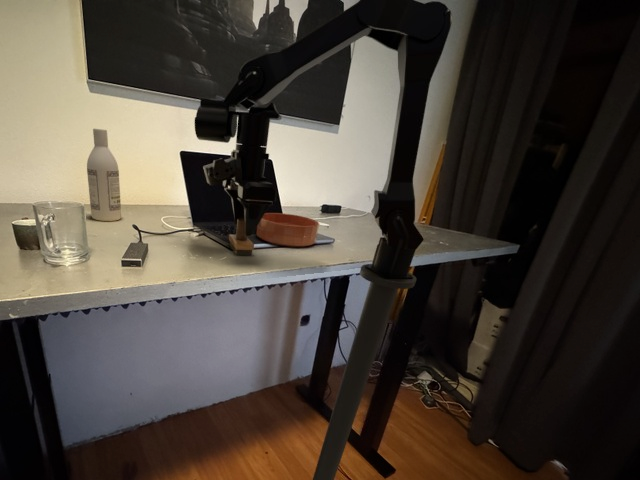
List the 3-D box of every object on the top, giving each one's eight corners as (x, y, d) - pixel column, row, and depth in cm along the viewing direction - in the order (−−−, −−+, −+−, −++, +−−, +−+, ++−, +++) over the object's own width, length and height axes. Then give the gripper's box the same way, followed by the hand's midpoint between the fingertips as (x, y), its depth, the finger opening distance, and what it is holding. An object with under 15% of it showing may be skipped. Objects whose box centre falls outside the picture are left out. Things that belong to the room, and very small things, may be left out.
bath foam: (122, 216, 86) (117, 131, 77) (120, 222, 80) (114, 130, 71) (93, 214, 84) (85, 127, 75) (89, 220, 78) (80, 127, 69)
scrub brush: (252, 256, 66) (256, 224, 63) (235, 255, 65) (238, 223, 62) (244, 245, 72) (247, 216, 69) (228, 245, 71) (230, 215, 68)
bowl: (325, 249, 76) (330, 227, 74) (266, 247, 72) (269, 225, 70) (300, 233, 89) (304, 214, 86) (249, 230, 85) (251, 211, 83)
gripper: (201, 140, 66) (197, 217, 72) (216, 141, 50) (210, 241, 56) (253, 146, 69) (245, 220, 75) (284, 149, 52) (271, 243, 59)
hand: (242, 229), depth 66 cm, fingers open, 9 cm apart
